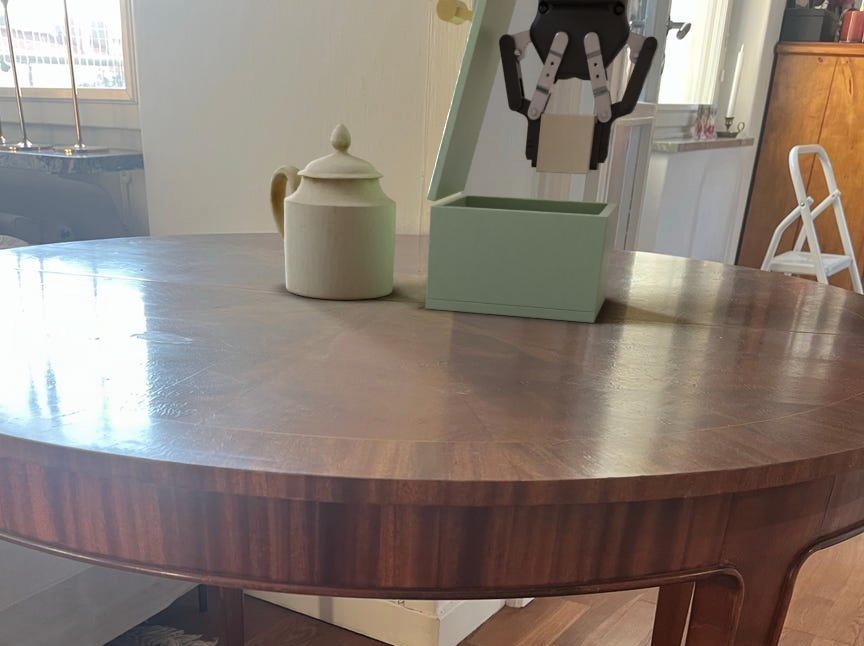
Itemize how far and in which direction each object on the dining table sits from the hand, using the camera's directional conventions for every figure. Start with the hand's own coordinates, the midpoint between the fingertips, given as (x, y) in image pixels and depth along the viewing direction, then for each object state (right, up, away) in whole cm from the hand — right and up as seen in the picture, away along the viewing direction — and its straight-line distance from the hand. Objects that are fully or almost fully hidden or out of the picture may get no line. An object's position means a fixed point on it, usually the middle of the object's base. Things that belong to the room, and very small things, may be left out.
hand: (564, 167), depth 87 cm
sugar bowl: (-23, -7, +11) cm, 26 cm away
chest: (-3, -10, +7) cm, 12 cm away
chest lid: (-8, +6, -1) cm, 10 cm away
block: (0, 0, 0) cm, 0 cm away
